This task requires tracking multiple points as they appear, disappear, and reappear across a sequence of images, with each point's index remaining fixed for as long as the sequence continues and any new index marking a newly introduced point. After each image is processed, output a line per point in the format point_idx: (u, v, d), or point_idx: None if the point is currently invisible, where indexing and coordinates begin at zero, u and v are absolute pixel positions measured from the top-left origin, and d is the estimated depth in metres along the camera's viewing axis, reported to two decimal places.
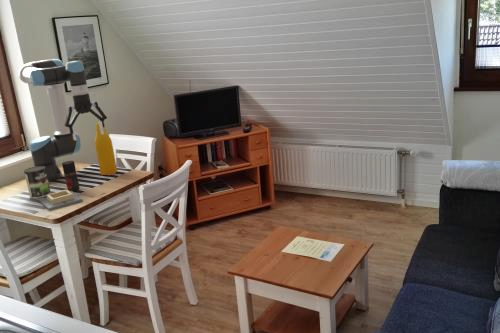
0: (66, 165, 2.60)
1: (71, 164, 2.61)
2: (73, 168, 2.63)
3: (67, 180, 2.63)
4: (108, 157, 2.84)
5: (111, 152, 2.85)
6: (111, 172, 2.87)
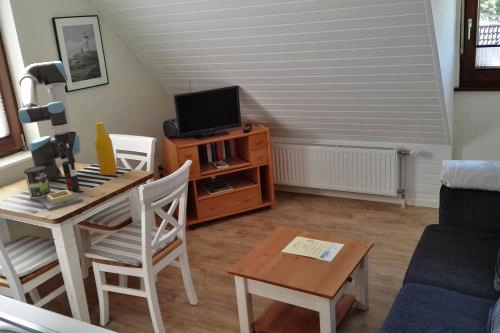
0: (66, 165, 2.60)
1: None
2: None
3: (67, 180, 2.63)
4: (108, 157, 2.84)
5: (111, 152, 2.85)
6: (111, 172, 2.87)
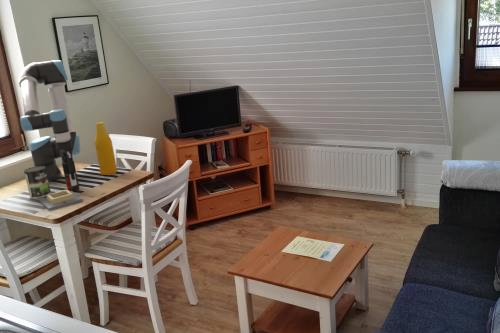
0: (66, 165, 2.60)
1: None
2: None
3: (67, 180, 2.63)
4: (108, 157, 2.84)
5: (111, 152, 2.85)
6: (111, 172, 2.87)
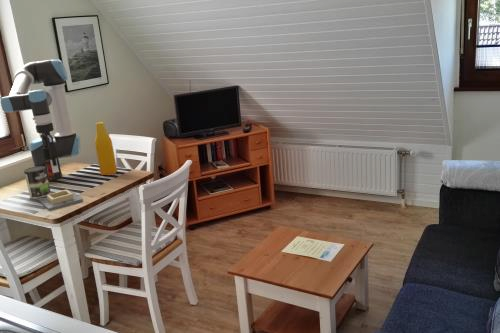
0: (47, 150, 2.41)
1: None
2: None
3: (48, 166, 2.44)
4: (108, 157, 2.84)
5: (111, 152, 2.85)
6: (111, 172, 2.87)
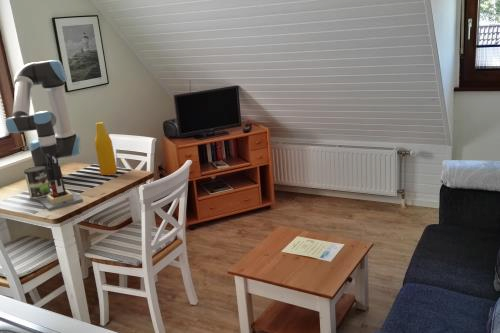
0: (51, 170, 2.44)
1: None
2: None
3: (53, 186, 2.46)
4: (108, 157, 2.84)
5: (111, 152, 2.85)
6: (111, 172, 2.87)
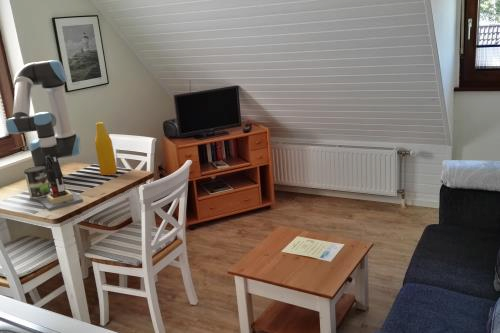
0: (52, 172, 2.44)
1: None
2: None
3: (53, 188, 2.47)
4: (108, 157, 2.84)
5: (111, 152, 2.85)
6: (111, 172, 2.87)
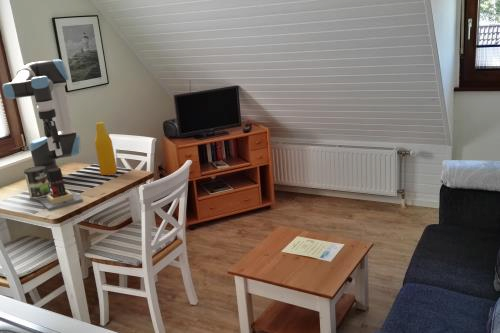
0: (52, 173, 2.44)
1: (57, 171, 2.45)
2: (59, 176, 2.47)
3: (53, 188, 2.47)
4: (108, 157, 2.84)
5: (111, 152, 2.85)
6: (111, 172, 2.87)
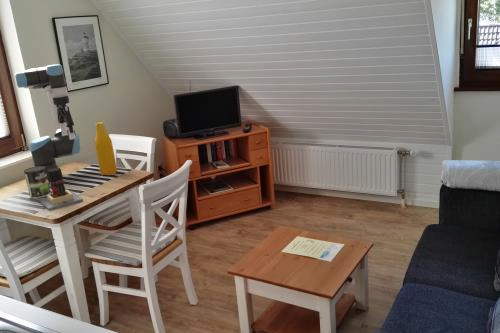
0: (52, 173, 2.44)
1: (57, 171, 2.45)
2: (59, 176, 2.47)
3: (53, 188, 2.47)
4: (108, 157, 2.84)
5: (111, 152, 2.85)
6: (111, 172, 2.87)
